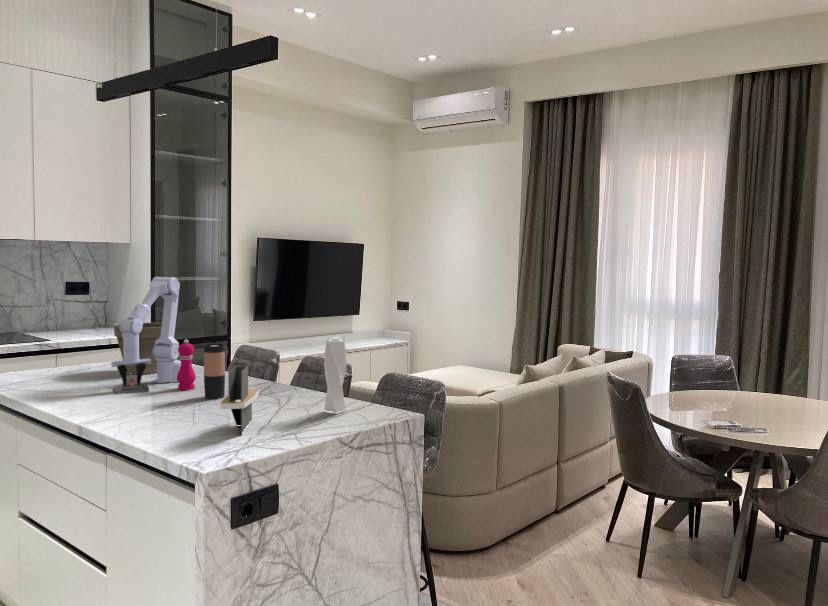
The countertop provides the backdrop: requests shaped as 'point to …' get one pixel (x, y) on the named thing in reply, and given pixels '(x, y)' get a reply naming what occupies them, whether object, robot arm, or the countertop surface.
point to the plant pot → (143, 345)
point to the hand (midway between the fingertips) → (131, 383)
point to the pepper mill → (186, 367)
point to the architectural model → (240, 396)
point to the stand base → (131, 388)
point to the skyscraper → (335, 373)
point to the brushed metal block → (131, 379)
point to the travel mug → (214, 371)
